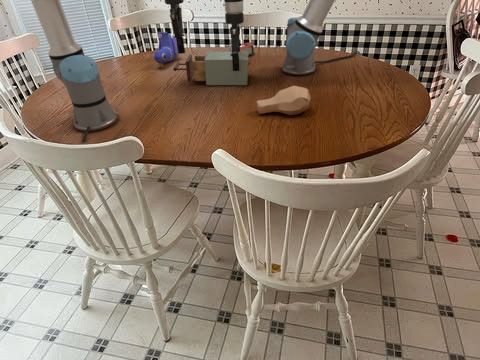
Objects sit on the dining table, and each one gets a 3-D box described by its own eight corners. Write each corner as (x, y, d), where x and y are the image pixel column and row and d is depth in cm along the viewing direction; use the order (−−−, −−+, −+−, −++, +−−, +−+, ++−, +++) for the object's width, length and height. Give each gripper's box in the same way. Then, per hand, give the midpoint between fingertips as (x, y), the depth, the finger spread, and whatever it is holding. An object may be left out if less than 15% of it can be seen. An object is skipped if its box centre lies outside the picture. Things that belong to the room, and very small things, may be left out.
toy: (167, 63, 198) (147, 69, 175) (163, 31, 191) (141, 33, 169) (184, 63, 195) (166, 69, 173) (180, 30, 189) (161, 32, 166)
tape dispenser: (245, 68, 177) (264, 54, 190) (245, 58, 174) (264, 44, 186) (216, 62, 185) (237, 49, 197) (215, 52, 181) (236, 39, 194)
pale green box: (206, 85, 156) (204, 59, 150) (209, 76, 165) (207, 51, 159) (247, 85, 156) (247, 59, 149) (247, 76, 165) (247, 51, 158)
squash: (314, 116, 128) (313, 95, 122) (259, 125, 130) (256, 105, 124) (308, 99, 136) (307, 78, 129) (257, 108, 138) (253, 88, 131)
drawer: (174, 82, 157) (171, 61, 151) (178, 74, 165) (176, 54, 160) (225, 82, 156) (224, 61, 151) (227, 74, 164) (226, 54, 159)
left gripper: (166, -10, 146) (176, 48, 160) (159, -5, 135) (170, 57, 149) (185, -11, 145) (192, 48, 159) (179, -6, 135) (187, 57, 149)
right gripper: (227, 6, 153) (230, 57, 166) (222, 19, 134) (226, 75, 147) (244, 6, 153) (246, 57, 166) (242, 18, 134) (244, 75, 147)
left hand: (181, 52), depth 154 cm, fingers closed
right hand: (236, 66), depth 157 cm, fingers closed on pale green box, 11 cm apart
